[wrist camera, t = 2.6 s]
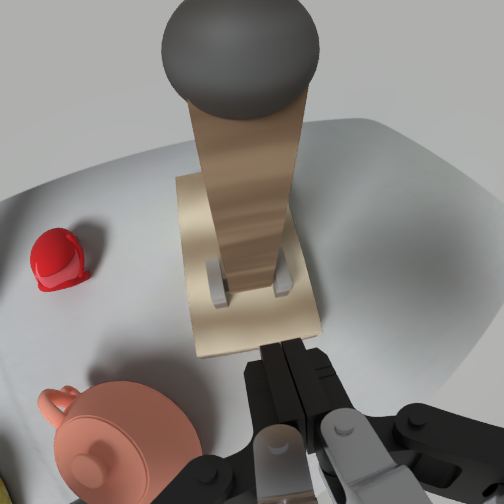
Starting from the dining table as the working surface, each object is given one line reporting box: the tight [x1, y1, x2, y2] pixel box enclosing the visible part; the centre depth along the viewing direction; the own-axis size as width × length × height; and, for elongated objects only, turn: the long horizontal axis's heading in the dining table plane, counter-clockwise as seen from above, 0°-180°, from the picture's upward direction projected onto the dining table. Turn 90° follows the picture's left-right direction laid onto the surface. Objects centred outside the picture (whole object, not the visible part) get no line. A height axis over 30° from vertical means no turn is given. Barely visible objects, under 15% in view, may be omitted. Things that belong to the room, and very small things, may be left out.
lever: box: [161, 0, 320, 294], centre depth 14 cm, size 4×4×20 cm
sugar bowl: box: [38, 381, 202, 504], centre depth 18 cm, size 12×14×10 cm
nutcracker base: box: [176, 172, 323, 359], centre depth 26 cm, size 18×10×6 cm, turn 11°
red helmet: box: [30, 228, 90, 292], centre depth 26 cm, size 8×6×6 cm
